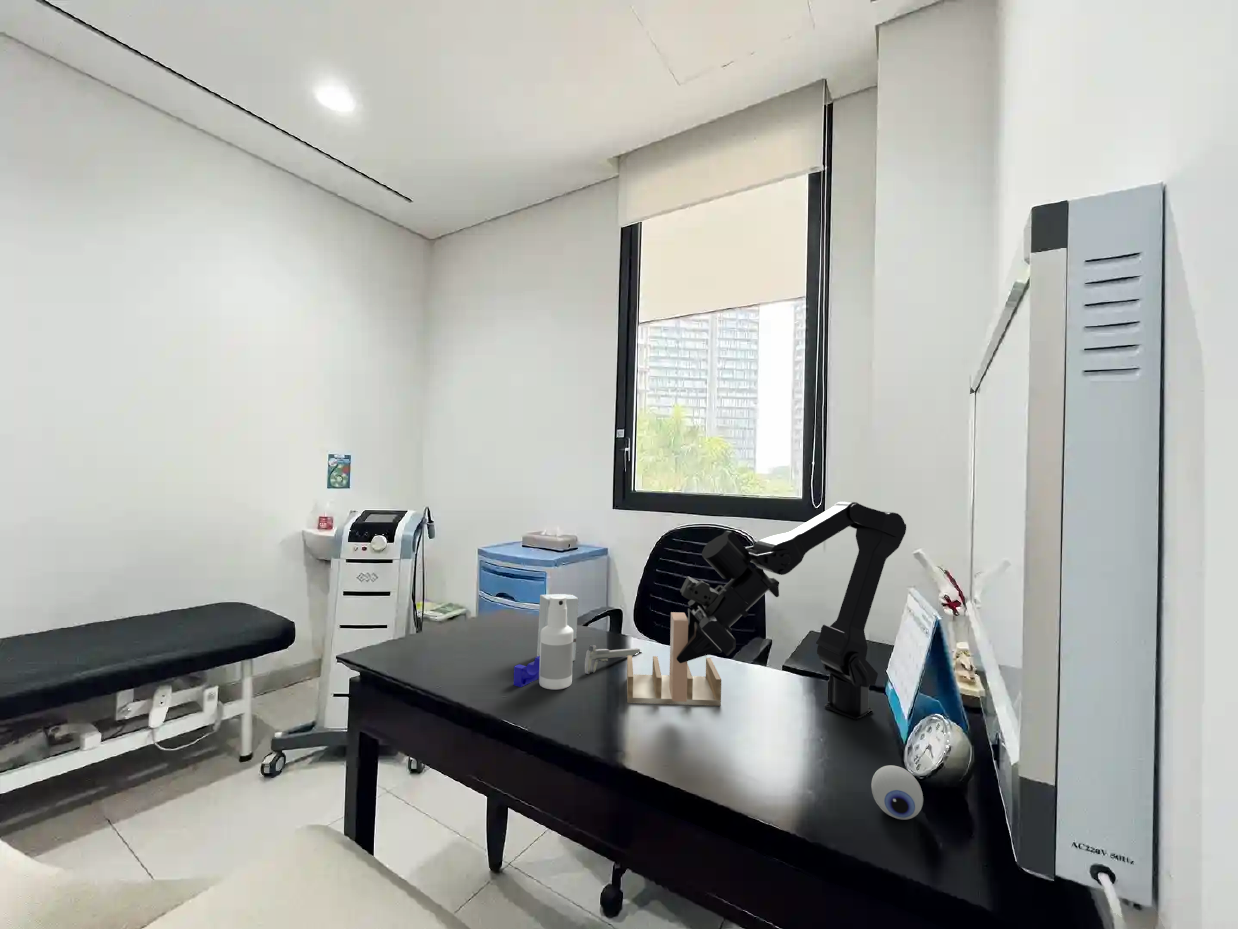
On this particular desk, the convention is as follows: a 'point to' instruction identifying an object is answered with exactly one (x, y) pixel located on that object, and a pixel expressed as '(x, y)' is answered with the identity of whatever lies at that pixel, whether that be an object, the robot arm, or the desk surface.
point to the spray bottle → (556, 647)
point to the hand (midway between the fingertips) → (676, 655)
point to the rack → (658, 691)
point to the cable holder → (526, 673)
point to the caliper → (604, 656)
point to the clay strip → (676, 646)
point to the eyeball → (897, 792)
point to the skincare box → (571, 616)
